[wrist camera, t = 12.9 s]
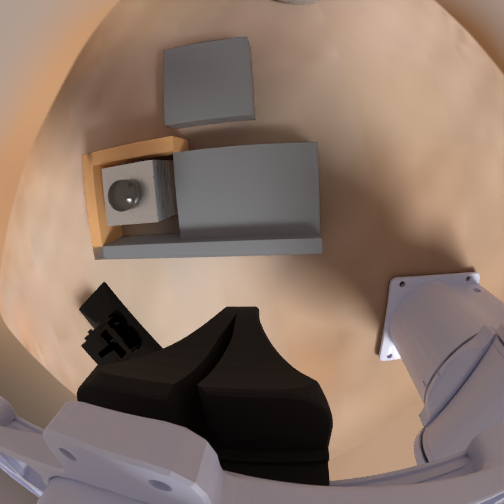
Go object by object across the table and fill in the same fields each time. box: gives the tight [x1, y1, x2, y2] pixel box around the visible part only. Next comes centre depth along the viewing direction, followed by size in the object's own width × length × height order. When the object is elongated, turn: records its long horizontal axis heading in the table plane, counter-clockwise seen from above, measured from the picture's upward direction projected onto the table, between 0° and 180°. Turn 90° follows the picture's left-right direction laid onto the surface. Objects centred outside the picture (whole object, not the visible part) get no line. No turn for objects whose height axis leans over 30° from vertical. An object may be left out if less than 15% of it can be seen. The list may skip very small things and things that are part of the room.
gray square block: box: [164, 37, 255, 129], centre depth 18 cm, size 6×6×2 cm
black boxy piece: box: [79, 282, 163, 365], centre depth 24 cm, size 12×7×5 cm, turn 38°
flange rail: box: [82, 136, 322, 260], centre depth 19 cm, size 16×8×3 cm, turn 93°
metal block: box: [102, 160, 178, 226], centre depth 19 cm, size 4×4×5 cm
